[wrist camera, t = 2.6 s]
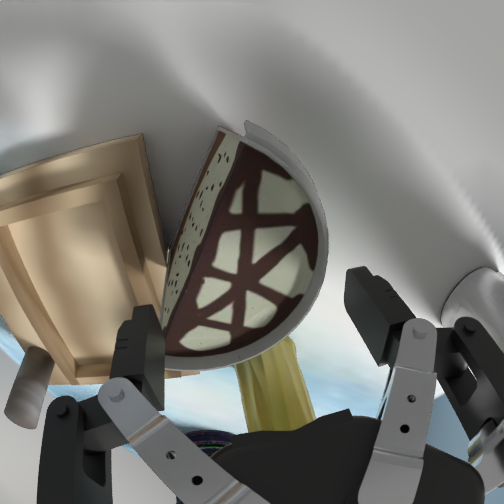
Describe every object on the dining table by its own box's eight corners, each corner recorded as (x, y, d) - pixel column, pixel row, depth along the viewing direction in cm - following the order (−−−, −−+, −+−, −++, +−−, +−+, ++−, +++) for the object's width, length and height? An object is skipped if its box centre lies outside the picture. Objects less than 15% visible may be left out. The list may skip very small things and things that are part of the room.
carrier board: (142, 133, 18) (103, 174, 11) (198, 357, 29) (204, 442, 21) (-38, 190, 17) (-107, 247, 9) (52, 370, 27) (33, 442, 20)
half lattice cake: (239, 288, 26) (262, 393, 17) (163, 266, 24) (152, 373, 15) (313, 142, 21) (393, 195, 12) (228, 104, 19) (254, 127, 10)
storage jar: (165, 455, 39) (170, 547, 26) (178, 426, 35) (185, 538, 22) (231, 460, 42) (245, 546, 29) (254, 432, 38) (275, 534, 25)
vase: (241, 380, 31) (266, 510, 19) (222, 342, 28) (245, 494, 16) (299, 363, 31) (342, 489, 19) (288, 322, 28) (340, 469, 16)
